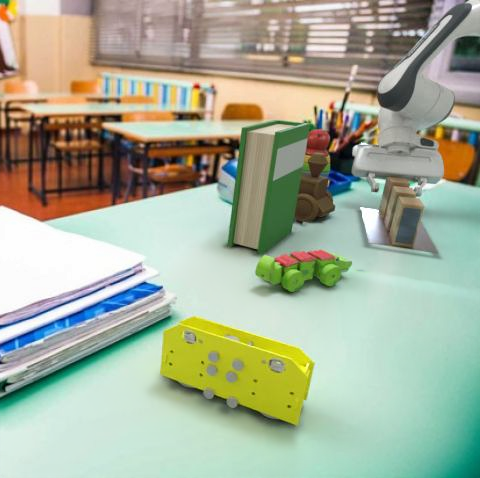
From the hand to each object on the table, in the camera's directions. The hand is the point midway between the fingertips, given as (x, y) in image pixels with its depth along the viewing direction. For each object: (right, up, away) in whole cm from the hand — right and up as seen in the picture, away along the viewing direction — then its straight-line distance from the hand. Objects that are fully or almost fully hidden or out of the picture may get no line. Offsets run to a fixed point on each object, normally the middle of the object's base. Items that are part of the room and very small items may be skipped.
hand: (395, 193), depth 120 cm
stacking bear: (-12, +3, +26) cm, 29 cm away
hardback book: (-37, -11, -14) cm, 41 cm away
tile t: (-7, -12, -15) cm, 21 cm away
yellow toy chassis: (-55, -29, -63) cm, 88 cm away
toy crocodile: (-36, -19, -34) cm, 53 cm away
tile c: (0, -5, +2) cm, 6 cm away
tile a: (-4, -8, -6) cm, 11 cm away
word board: (-4, -9, -6) cm, 12 cm away
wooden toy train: (-25, -5, +4) cm, 26 cm away
